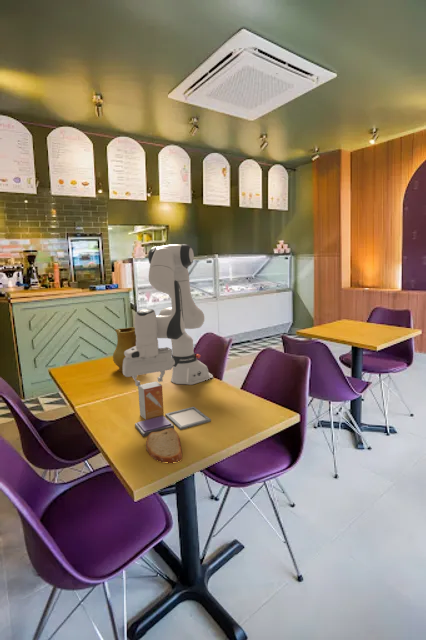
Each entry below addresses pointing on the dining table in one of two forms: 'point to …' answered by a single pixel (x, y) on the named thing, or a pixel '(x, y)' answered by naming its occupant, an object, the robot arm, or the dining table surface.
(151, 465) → the dining table surface
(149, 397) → the small box
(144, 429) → the ink pad
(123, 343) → the pitcher
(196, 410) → the print frame
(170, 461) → the bread slice
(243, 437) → the dining table surface
